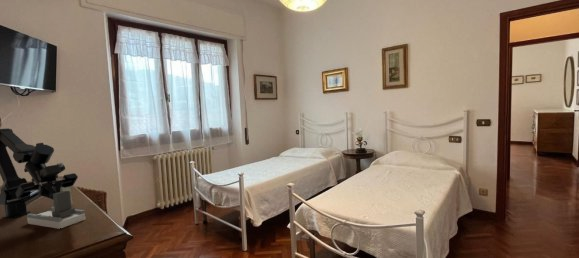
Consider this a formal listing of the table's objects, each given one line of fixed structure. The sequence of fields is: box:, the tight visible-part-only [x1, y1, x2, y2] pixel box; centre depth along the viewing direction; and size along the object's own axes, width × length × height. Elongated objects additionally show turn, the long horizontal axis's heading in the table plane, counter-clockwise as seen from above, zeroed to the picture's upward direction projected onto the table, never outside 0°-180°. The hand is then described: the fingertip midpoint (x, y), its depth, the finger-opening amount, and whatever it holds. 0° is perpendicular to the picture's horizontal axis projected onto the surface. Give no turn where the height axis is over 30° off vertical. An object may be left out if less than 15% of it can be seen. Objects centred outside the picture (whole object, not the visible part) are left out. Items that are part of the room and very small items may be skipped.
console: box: [26, 206, 86, 230], centre depth 109 cm, size 20×9×4 cm, turn 69°
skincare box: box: [51, 186, 74, 207], centre depth 127 cm, size 6×4×12 cm
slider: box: [52, 191, 76, 218], centre depth 107 cm, size 5×5×9 cm
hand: (59, 200), depth 107 cm, fingers closed, pressing on slider
